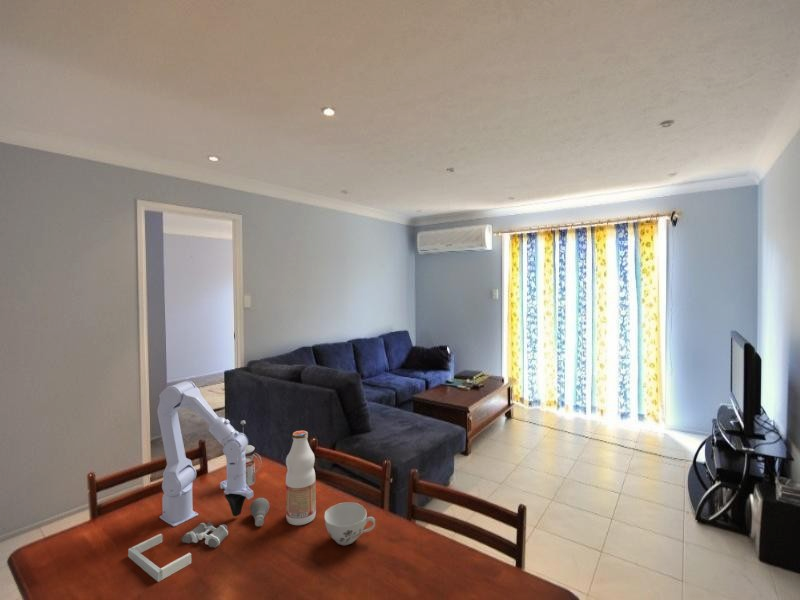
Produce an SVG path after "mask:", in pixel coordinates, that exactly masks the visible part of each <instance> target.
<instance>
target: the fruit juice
mask: <svg viewBox="0 0 800 600" xmlns="http://www.w3.org/2000/svg"><path fill="white" fill-rule="evenodd" d="M291 436H292V439H293V441H292V444H291V448H290V450H289V451H288V452H289V453H288V454H287V456H286V458H285V465H286V468H287V472H286V475H285V502H286V503H285V512H286V514H285V516H286V522H287V523H288V524H290V525H293V526H303V525H307V524H309V523H311V522H312V521H314V519H315V517H316V514H317V513H316V512H317V507H316V506H317V504H316V503H317V502H316V499H317V497H316V496H317V495H316V472H315V468H314V466H315V460H316V457H315V453H314V452H313V450H312V448H311V447H310V443H309V441H308V438H309V437H308V436H309V432H308V431H306V430H296V431H294V432H293V433H292V435H291Z"/></svg>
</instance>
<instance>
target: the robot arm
mask: <svg viewBox="0 0 800 600" xmlns="http://www.w3.org/2000/svg"><path fill="white" fill-rule="evenodd" d="M201 393H202V392H201V390H200V388H198V387H197V386H196V384H195V383H194V382H193V381H191V380H183V381H181V382H179V383H176V384H174V385H169V386H166V387H165V388H164V389H163V390H162V391H161V393H159V394H158V395H159V397H158V398H159V403H158V405H157V410H156V411H157V412H156V413H157V418H158V422H159V427H160V434H161V440H162V445H163V449H164V455H165V461H166V466H165V469H164V470H163V473H162V482H161V483H162V484H161V489H162V491H163V495H162V499H161V501H162V502H161V503H162V515H159V519H161V520H162V521H164V522H165V523H167V524H168V525H170V526H172V527H176V526H179V525H181V524H183V523H185V522H187V521H189V520H191V519H193V518H195V517H198V516H199V513H198V512H196V511H194V510H193V509H194V508H193V507H194V506H193V485H194V484H193V483H194V480H196V478H197V470H196V468H195V467H194V466H193V463H192V460H191V459H190V458H187V456H186V451H185V446H184V440H183V434H182V428H181V424H180V419H179V414H178V412H179V411H180V409H181V408H187V409H189V408H190V409H192V410H193V411H195V413H197V414H198V416H200V418H202V419H203V420H204V422H206V424H208V425H209V426H208V431H209V433H210V434H211V435H212V436H213V437H214V438H215V439H216V440H217V441H218V443H220V445H222V447H223V448H222V452H223V454H224V456H225V457H226V479H224V480H223V481H220V482H219V485H220V487H219V488H220V489H224V490H223V494H225V495H224V497H225V499H226V500H227V502H228V505H229V507H230V511H231V513H232V516H233V517H237V516H239V515H241V513H242V509H243V505H244V503H245V500H250V499H252V498H254V490H252V488H250V486H247V484H246V472H247V471H246V468H247V467H246V466H247V464H246V458H245V457H246V454H245V450H244V449H245V448H246V447H247V445H249V438H248V436H247V435H246V434H245V433H244V434H243V432H239V431H238V430H237V429H236V428H234V426H232V425H231V421H230V420H229V419H226V418H225V417H222V416H220V417H219V416H218V415H217V413H216V412H215V411H214V409H213V408H212V407H211V406H210V404H209V403H208V401H206V399H205V398H204V396H202V394H201Z"/></svg>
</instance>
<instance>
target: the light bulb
mask: <svg viewBox="0 0 800 600" xmlns="http://www.w3.org/2000/svg"><path fill="white" fill-rule="evenodd" d="M269 509H270V502H269V501H268V499H266V498H265V497H257V498H255V499H254V500H253V501H252V502H251V503H250V508H249V510H250V514H251V516H253V519H254V525H255V526H256V527H259V528H260V527H262V526H263V525H264V523H265V518H266V515H267V514H268V512H269Z"/></svg>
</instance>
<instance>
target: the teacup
mask: <svg viewBox="0 0 800 600" xmlns="http://www.w3.org/2000/svg"><path fill="white" fill-rule="evenodd" d="M367 513H368V511H367V510H366V508H365V507H364V506H363V505H362V504H359V503H358V502H351V501H349V502H348V501H347V502H340V503H337V504H335V505H331V506H330V507H329V508H327V509H326V510H325V512H324V517H323V518H324V522H325V528H326V530H327V534H328V535H329V536H330V537H331V538H332V539H333V540H334V541H335V542H336V543H337V544H338V545H341V546H348V545H350V544H353V543H354V542H355V541H356V540H357V539H358V538H359V537H360V536H361V535H362V534H365V533H368V532H371V531H372V530H373V529H374V528H375V526H376V519H375V517H373V516H368V514H367ZM367 516H368V517H367ZM368 522H372V525H371V526H370V527H367V528H366V529H365V527H366V525H367V523H368Z"/></svg>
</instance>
